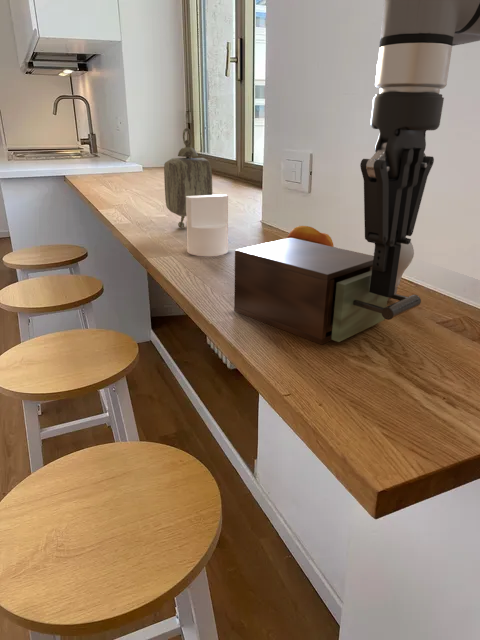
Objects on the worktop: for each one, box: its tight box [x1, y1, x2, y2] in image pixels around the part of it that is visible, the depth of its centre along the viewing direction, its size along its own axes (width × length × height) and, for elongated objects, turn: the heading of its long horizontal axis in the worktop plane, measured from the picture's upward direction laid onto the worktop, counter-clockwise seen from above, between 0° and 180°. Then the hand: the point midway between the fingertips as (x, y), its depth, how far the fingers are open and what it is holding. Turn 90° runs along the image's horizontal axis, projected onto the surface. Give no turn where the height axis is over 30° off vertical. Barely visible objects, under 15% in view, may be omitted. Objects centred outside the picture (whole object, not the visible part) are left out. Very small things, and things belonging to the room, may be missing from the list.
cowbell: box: [163, 127, 213, 229], centre depth 129 cm, size 14×9×25 cm, turn 22°
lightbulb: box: [373, 236, 415, 301], centre depth 79 cm, size 6×6×11 cm
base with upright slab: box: [186, 193, 229, 257], centre depth 108 cm, size 9×9×12 cm
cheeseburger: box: [286, 225, 335, 247], centre depth 94 cm, size 10×11×10 cm
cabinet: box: [233, 237, 374, 346], centre depth 73 cm, size 17×13×10 cm
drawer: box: [326, 266, 422, 343], centre depth 69 cm, size 21×11×8 cm, turn 44°
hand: (381, 293), depth 64 cm, fingers closed
